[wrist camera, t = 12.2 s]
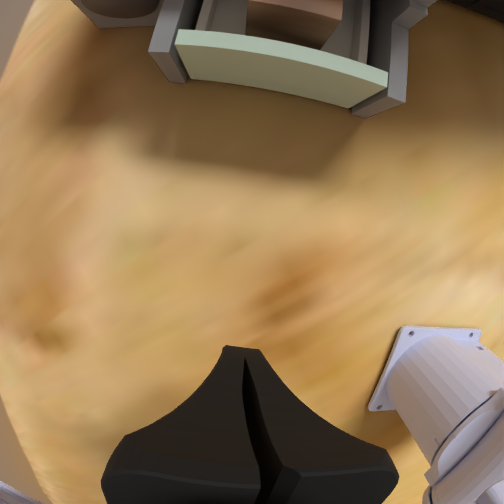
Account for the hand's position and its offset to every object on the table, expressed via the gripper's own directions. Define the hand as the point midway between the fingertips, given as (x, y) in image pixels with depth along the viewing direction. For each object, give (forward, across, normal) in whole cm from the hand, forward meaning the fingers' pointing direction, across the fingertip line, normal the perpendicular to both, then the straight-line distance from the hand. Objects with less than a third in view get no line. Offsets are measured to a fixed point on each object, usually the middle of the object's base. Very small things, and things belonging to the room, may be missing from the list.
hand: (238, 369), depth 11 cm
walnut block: (+7, 0, -16) cm, 18 cm away
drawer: (+8, 0, -17) cm, 19 cm away
